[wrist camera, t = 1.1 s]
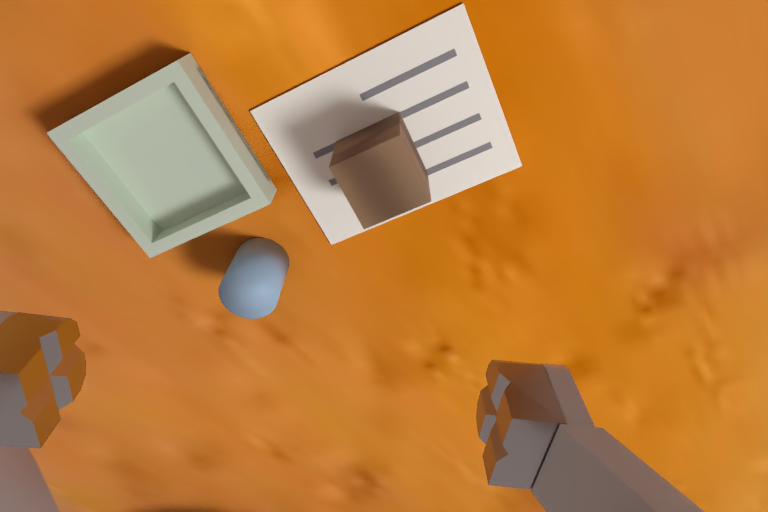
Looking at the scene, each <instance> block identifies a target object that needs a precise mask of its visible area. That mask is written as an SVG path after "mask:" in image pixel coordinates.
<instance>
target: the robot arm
mask: <svg viewBox="0 0 768 512" xmlns="http://www.w3.org/2000/svg"><path fill="white" fill-rule="evenodd" d="M79 337H80V332H79V328H78V324H77V322H76V321H74V320H72V319H70V318H62V317H54V316H45V315H37V314H29V313H20V312H18V313H15V312H8V311H0V446H6V447H7V446H8V447H25V448H41V447H42V446H43V444H44V443H45V442H46V440H47V439H48V437H49V436H50V434H51V433H52V431H53V430H54V429H55V427H56V426H57V424H58V423H59V421H60V420H61V419H60V415H59V409H61V408H62V407H64V406H66V405H68V404H69V403H71V402H73V401H74V399H75V398H76V396H77V395H78V393H79V392H80V390H81V388H82V385H83V382H84V379H85V375H86V360H85V355H84V353H83V352H82V351H81V350H80V349H79V348H78V347H77V346H76V345H75V344H74V343H75V342H76V341H77V339H78V338H79ZM486 378H487V383H488V385H487V386H486V387H485V388H483V389H482V390H481V391H480V395H479V399H478V403H477V414H476V419H477V429H478V435H479V438H480V439H481V440H482V441H483V442H484V443H485V444H486V446H485V449H484V453H483V460H484V465H485V470H486V475H487V480H488V485H494V486H503V487H512V488H522V489H531V490H532V491H531V492H532V493H533V495H534V496H535V497H536V499H537V500H538V501H539V502H540V504H541V505H542V506H543V507H544V509H545V510H546V511H547V512H704V511H703V510H702V509H700V508H699V507H698V506H697V505H696V504H694V503H693V502H692V501H691V500H689V499H688V498H687V497H686V496H685V495H683V494H682V493H681V492H680V491H678V490H677V489H676V488H675V487H674V486H672V485H671V484H670V483H669V482H668V481H666V480H665V479H664V478H663V477H661V476H660V475H659V474H658V473H657V472H655V471H654V470H653V469H652V468H651V467H649V466H648V465H647V464H646V463H644V462H643V461H642V460H641V459H640V458H638V457H637V456H636V455H635V454H634V453H632V452H631V451H630V450H629V449H627V448H626V447H625V446H624V445H623V444H621V443H620V442H619V441H618V440H617V439H615V438H614V437H613V436H612V435H610V434H609V433H608V432H607V431H606V430H604V429H603V428H597V427H595V426H594V423H593V421H592V419H591V417H590V415H589V412H588V410H587V408H586V406H585V404H584V401H583V399H582V397H581V395H580V393H579V390H578V388H577V386H576V384H575V382H574V379H573V377H572V375H571V373H570V371H569V369H568V368H567V367H566V366H565V365H553V364H534V363H523V362H512V361H501V360H491V362H490V363H489V365H488V368H487V371H486Z"/></svg>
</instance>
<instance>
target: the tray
mask: <svg viewBox="0 0 768 512" xmlns="http://www.w3.org/2000/svg"><path fill="white" fill-rule="evenodd" d="M47 135H48V136H49V137H50V138H51V139H52V141H53V142H54V143H55V144H56V145H57V147H58V148H59V149H60V150H61V151H62V153H63V154H64V155H65V156H66V157H67V159H68V160H69V161H70V162H71V163H72V165H73V166H74V167H75V168H76V169H77V171H78V172H79V173H80V174H81V176H82V177H83V178H84V179H85V180H86V182H87V183H88V184H89V185H90V186H91V188H92V189H93V190H94V191H95V192H96V194H97V195H98V196H99V197H100V198H101V200H102V201H103V202H104V203H105V204H106V206H107V207H108V208H109V209H110V211H111V212H112V213H113V214H114V215H115V217H116V218H117V219H118V220H119V221H120V223H121V224H122V225H123V226H124V227H125V229H126V230H127V231H128V232H129V233H130V235H131V236H132V237H133V238H134V239H135V241H136V242H137V243H138V244H139V246H140V247H141V248H142V249H143V250H144V252H145V253H146V254H147V255H148V256H149V258H151V257H154V256H156V255H158V254H160V253H162V252H165V251H167V250H169V249H171V248H174V247H176V246H178V245H180V244H182V243H185V242H187V241H189V240H191V239H194V238H196V237H198V236H200V235H202V234H205V233H207V232H209V231H211V230H214V229H216V228H218V227H220V226H222V225H225V224H227V223H229V222H231V221H234V220H236V219H238V218H240V217H242V216H245V215H247V214H249V213H251V212H254V211H256V210H258V209H260V208H263V207H265V206H267V205H269V204H271V202H272V199H273V197H274V195H275V193H276V191H277V189H276V187H275V186H274V184H273V182H272V181H271V179H270V178H269V176H268V175H267V173H266V171H265V170H264V168H263V167H262V165H261V163H260V162H259V160H258V159H257V157H256V156H255V154H254V152H253V151H252V149H251V148H250V146H249V144H248V143H247V141H246V140H245V138H244V137H243V135H242V133H241V132H240V130H239V129H238V127H237V126H236V124H235V122H234V121H233V119H232V118H231V116H230V114H229V113H228V111H227V110H226V108H225V107H224V105H223V103H222V102H221V100H220V99H219V97H218V95H217V94H216V92H215V91H214V89H213V88H212V86H211V84H210V83H209V81H208V80H207V78H206V76H205V75H204V73H203V72H202V70H201V69H200V67H199V65H198V64H197V62H196V61H195V59H194V58H193V56H192V54H191V53H189V54H187V55H185V56H184V57H182V58H180V59H178V60H176V61H175V62H173V63H171V64H169V65H167V66H166V67H164V68H162V69H160V70H158V71H157V72H155V73H153V74H151V75H149V76H148V77H146V78H144V79H142V80H140V81H139V82H137V83H135V84H133V85H131V86H130V87H128V88H126V89H124V90H122V91H121V92H119V93H117V94H115V95H113V96H112V97H110V98H108V99H106V100H104V101H103V102H101V103H99V104H97V105H95V106H94V107H92V108H90V109H88V110H86V111H85V112H83V113H81V114H79V115H77V116H76V117H74V118H72V119H70V120H68V121H67V122H65V123H63V124H61V125H60V126H58V127H56V128H54V129H52V130H51V131H49V132H47Z"/></svg>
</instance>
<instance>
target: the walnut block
mask: <svg viewBox="0 0 768 512" xmlns="http://www.w3.org/2000/svg"><path fill="white" fill-rule="evenodd" d="M329 168H330V170H331V172H332V174H333V175H334V177H335V179H336V181H337V182H338V184H339V186H340V188H341V190H342V191H343V193H344V195H345V197H346V198H347V200H348V202H349V204H350V206H351V207H352V209H353V211H354V213H355V214H356V216H357V218H358V220H359V222H360V223H361V225H362V227H363V229H366V228H369V227H371V226H373V225H376V224H378V223H381V222H383V221H386V220H388V219H390V218H393V217H395V216H398V215H400V214H402V213H405V212H407V211H410V210H412V209H414V208H417V207H419V206H422V205H424V204H426V203H429V202H431V195H430V188H429V180H428V172H427V170H426V168H425V166H424V164H423V162H422V159H421V157H420V155H419V153H418V151H417V149H416V146H415V144H414V142H413V140H412V138H411V136H410V133H409V131H408V129H407V127H406V125H405V123H404V121H403V118H402V116H401V114H400V112H398V113H396V114H393V115H391V116H389V117H387V118H385V119H383V120H381V121H378V122H376V123H374V124H372V125H370V126H368V127H366V128H363V129H361V130H359V131H357V132H355V133H353V134H351V135H348V136H346V137H344V138H342V139H340V140H338V141H336V145H335V148H334V151H333V155H332V158H331V162H330V165H329Z"/></svg>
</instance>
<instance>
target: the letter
mask: <svg viewBox="0 0 768 512" xmlns="http://www.w3.org/2000/svg"><path fill="white" fill-rule="evenodd" d="M250 112H251V114H252V116H253V117H254V119H255V120H256V122H257V124H258V125H259V127H260V129H261V130H262V132H263V134H264V135H265V137H266V138H267V140H268V142H269V143H270V145H271V147H272V148H273V150H274V152H275V153H276V155H277V157H278V158H279V160H280V161H281V163H282V165H283V166H284V168H285V170H286V171H287V173H288V175H289V176H290V178H291V179H292V181H293V183H294V184H295V186H296V188H297V189H298V191H299V193H300V194H301V196H302V197H303V199H304V201H305V202H306V204H307V206H308V207H309V209H310V211H311V212H312V214H313V216H314V217H315V219H316V220H317V222H318V224H319V225H320V227H321V229H322V230H323V232H324V234H325V235H326V237H327V238H328V240H329V242H330V243H331V245H332V244H335V243H337V242H340V241H342V240H345V239H347V238H349V237H352V236H354V235H357V234H359V233H361V232H364V231H366V230H369V229H371V228H374V227H376V226H378V225H381V224H383V223H386V222H388V221H390V220H393V219H395V218H398V217H400V216H403V215H405V214H407V213H410V212H412V211H415V210H417V209H419V208H422V207H424V206H427V205H429V204H432V203H434V202H436V201H439V200H441V199H444V198H446V197H448V196H451V195H453V194H456V193H458V192H461V191H463V190H465V189H468V188H470V187H473V186H475V185H477V184H480V183H482V182H485V181H487V180H490V179H492V178H494V177H497V176H499V175H502V174H504V173H506V172H509V171H511V170H514V169H516V168H519V167H521V166H522V164H521V161H520V159H519V156H518V153H517V150H516V148H515V145H514V142H513V139H512V136H511V134H510V131H509V128H508V125H507V123H506V120H505V117H504V114H503V112H502V109H501V106H500V103H499V100H498V98H497V95H496V92H495V89H494V87H493V84H492V81H491V78H490V76H489V73H488V70H487V67H486V64H485V62H484V59H483V56H482V53H481V51H480V48H479V45H478V42H477V40H476V37H475V34H474V31H473V28H472V26H471V23H470V20H469V17H468V15H467V12H466V9H465V6H464V4H463V3H462V4H460V5H458V6H456V7H454V8H452V9H451V10H449V11H447V12H445V13H443V14H441V15H439V16H437V17H435V18H433V19H431V20H429V21H427V22H425V23H423V24H421V25H419V26H417V27H415V28H413V29H411V30H409V31H407V32H405V33H403V34H401V35H399V36H397V37H395V38H393V39H391V40H389V41H387V42H385V43H383V44H381V45H379V46H377V47H375V48H373V49H371V50H369V51H367V52H365V53H363V54H362V55H360V56H358V57H356V58H354V59H352V60H350V61H348V62H346V63H344V64H342V65H340V66H338V67H336V68H334V69H332V70H330V71H328V72H326V73H324V74H322V75H320V76H318V77H316V78H314V79H312V80H310V81H308V82H306V83H304V84H302V85H300V86H298V87H296V88H294V89H292V90H290V91H288V92H286V93H284V94H282V95H280V96H278V97H276V98H275V99H273V100H271V101H269V102H267V103H265V104H263V105H261V106H259V107H257V108H255V109H253V110H251V111H250ZM398 112H400V114H401V116H402V118H403V121H404V123H405V125H406V127H407V129H408V131H409V133H410V136H411V138H412V140H413V142H414V144H415V146H416V149H417V151H418V153H419V155H420V157H421V159H422V162H423V164H424V166H425V168H426V170H427V172H428V180H429V188H430V195H431V202H429V203H426V204H424V205H422V206H419V207H417V208H414V209H412V210H410V211H407V212H405V213H402V214H400V215H398V216H395V217H393V218H390V219H388V220H386V221H383V222H381V223H378V224H376V225H373V226H371V227H369V228H366V229H363V227H362V225H361V223H360V222H359V220H358V218H357V216H356V214H355V213H354V211H353V209H352V207H351V206H350V204H349V202H348V200H347V198H346V197H345V195H344V193H343V191H342V190H341V188H340V186H339V184H338V182H337V181H336V179H335V177H334V175H333V174H332V172H331V170H330V168H329V165H330V162H331V158H332V155H333V151H334V148H335V145H336V141H338V140H340V139H342V138H344V137H346V136H348V135H351V134H353V133H355V132H357V131H359V130H361V129H363V128H366V127H368V126H370V125H372V124H374V123H376V122H378V121H381V120H383V119H385V118H387V117H389V116H391V115H393V114H396V113H398Z"/></svg>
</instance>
